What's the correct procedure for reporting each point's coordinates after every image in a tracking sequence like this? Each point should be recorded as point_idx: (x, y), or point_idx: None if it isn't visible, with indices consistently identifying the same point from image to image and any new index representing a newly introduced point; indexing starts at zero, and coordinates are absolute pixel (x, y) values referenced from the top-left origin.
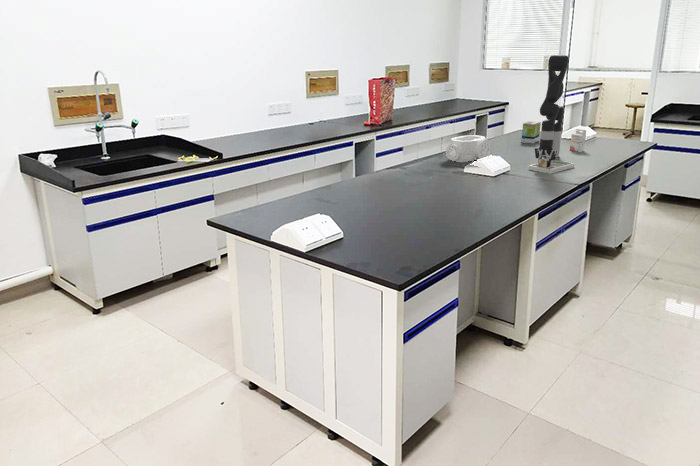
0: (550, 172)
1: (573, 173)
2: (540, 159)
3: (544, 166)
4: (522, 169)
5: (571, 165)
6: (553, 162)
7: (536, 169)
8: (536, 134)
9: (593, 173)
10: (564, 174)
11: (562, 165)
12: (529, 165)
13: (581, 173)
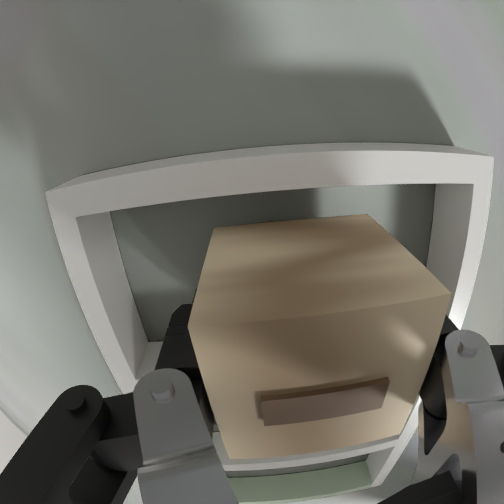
0: (71, 180)
1: (30, 365)
2: (420, 346)
3: (230, 244)
4: (496, 105)
5: None
6: (365, 471)
7: (343, 145)
8: None
9: (20, 421)
10: (10, 283)
11: None
12: (492, 168)
13: (24, 393)
